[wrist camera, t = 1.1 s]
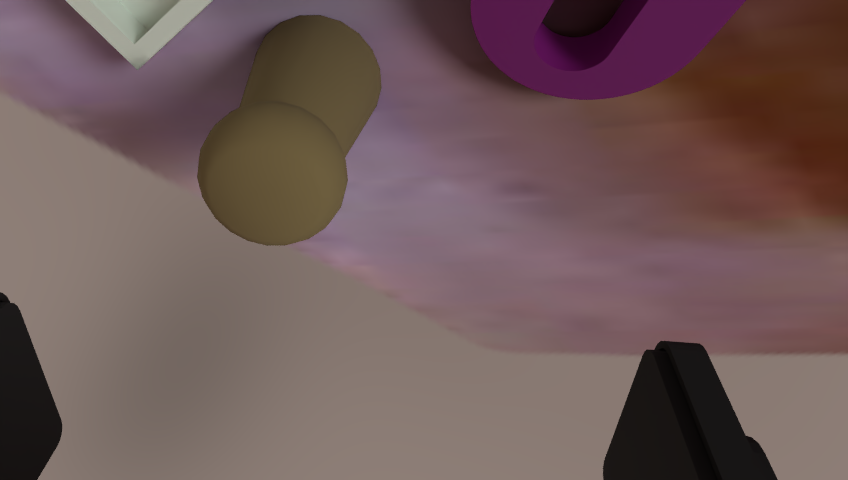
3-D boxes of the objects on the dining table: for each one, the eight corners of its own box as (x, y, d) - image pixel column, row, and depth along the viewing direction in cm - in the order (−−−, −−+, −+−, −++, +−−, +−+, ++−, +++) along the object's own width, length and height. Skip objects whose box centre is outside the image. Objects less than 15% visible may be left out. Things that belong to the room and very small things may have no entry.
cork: (404, 104, 31) (385, 233, 22) (302, 156, 33) (246, 294, 24) (336, -11, 28) (282, 84, 19) (227, 53, 30) (132, 167, 21)
